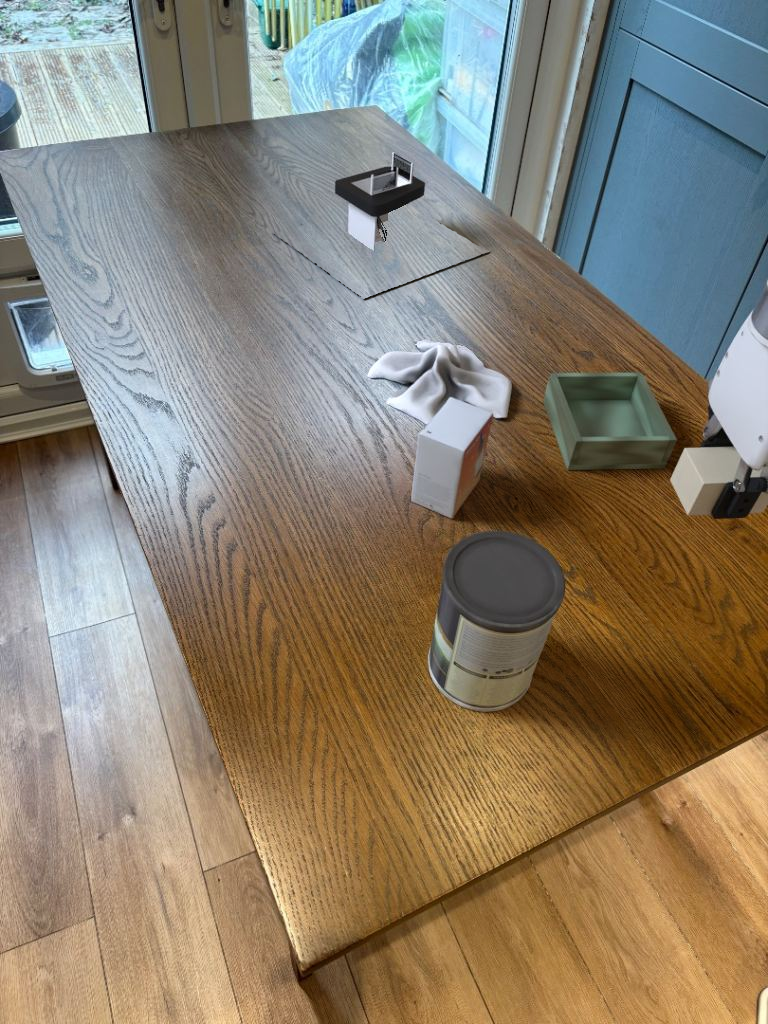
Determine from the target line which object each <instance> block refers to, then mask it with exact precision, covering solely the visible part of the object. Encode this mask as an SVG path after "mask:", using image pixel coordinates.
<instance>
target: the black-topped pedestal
mask: <svg viewBox="0 0 768 1024" xmlns="http://www.w3.org/2000/svg"><path fill="white" fill-rule="evenodd" d="M414 166H415V164H414V163H413V162H410V161H409V160H407V159H405V158H404V157H401V156H399V155H398V154H396V153H395V151H392V156H391V166H383V167H379V168H375V169H372V170H368V171H364V172H360V173H357V174H353V175H349V176H346V177H343V178H339V179H336V180H334V193H335V195H337V197H340V198H341V199H343V200H345V201H346V202H347V203H348V209H347V210H348V233H349V234H350V235H352V236H353V237H354V238H355V239H357V240H358V241H360V242H361V243H363V244H364V245H365V246H367V247H368V248H370V249H372V250H373V251H375V242H379V241H382V242H385V241H386V237H385V233H386V236H387V232H386V231H387V230H385V233H384V230H383V227H382V225H383V222H385V221H388V213H389V212H391V211H393V210H396V209H398V208H400V207H402V206H404V205H406V204H410V203H412V202H414V201H416V200H418V199H420V198H423V197H424V195H425V190H426V189H425V188H426V182H425V181H423V180H422V179H419V178H418V177H416V176H415V175H414ZM381 223H382V225H381ZM383 226H384V225H383ZM384 228H385V227H384ZM379 229H381V230H382V232H383V234H384V238H385V241H384V239H383V237H381V235H380V232H379ZM385 229H386V228H385Z"/></svg>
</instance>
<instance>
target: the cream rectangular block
mask: <svg viewBox="0 0 768 1024" xmlns="http://www.w3.org/2000/svg"><path fill="white" fill-rule="evenodd" d="M740 459H741V456H740V455H739V453H738V452H737V450H736V448H735V447H704V448H700V447H684V448H683V451H682V453H681V455H680V457H679V458H678V461H677V463H676V466H675V468H674V470H673V472H672V475H671V477H670V479H669V481H670V483H671V486H672V487H673V489H674V492H675V494H676V495H677V497H678V499H679V501H680V503H681V505H682V507H683V509H684V512H685V514H686V515H687V516H689V517H690V516H712V515H711V511H712V510H713V508H714V506H715V504H716V502H717V500H718V498H719V497H720V495H721V493H722V491H723V489H724V487H725V485H726V483H728V482H733V481H734V478H735V475H736V472H737V469H738V466H739V463H740ZM762 469H763V467H762V468H761V469H760V470H759V471H756V470H754V469H753V470H752V473H751V476H750V477H760V475H761V472H762ZM767 506H768V494H766V493H764V492H762V493H761V494H760V496H759V498H758V499H757V501H756V503H755V504H754V506H753V508H752V510H751V511H750V513H749V514H763V513H764V511H766V508H767Z"/></svg>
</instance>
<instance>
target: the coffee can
mask: <svg viewBox="0 0 768 1024" xmlns="http://www.w3.org/2000/svg"><path fill="white" fill-rule="evenodd" d="M441 576H442V580H441V585H440V590H439V591H440V592H439V596H438V597H439V598H438V603H437V610H436V614H435V620H434V626H433V632H432V637H431V643H430V647H429V650H428V653H427V667H428V671H429V674H430V678H431V679H432V682H433V683H434V685H435V686H436V688H437V689H438V690H439V692H440V693H441V694H442V695H443V696H444V697H445V698H446V699H448V701H451V702H452V703H454V704H456V705H457V706H460V707H462V708H465V709H467V710H471V711H475V712H482V713H487V712H497V711H501V710H505V709H507V708H509V707H511V706H513V705H515V704H516V703H517V702H519V701H520V700H521V699H522V698H523V697H524V696H525V694H526V693H527V692H528V690H529V688H530V686H531V683H532V680H533V679H532V678H533V675H534V673H535V669H536V667H537V664H538V661H539V659H540V656H541V653H542V652H543V649H544V646H545V645H546V644H545V643H546V641H547V638H548V635H549V633H550V630H551V628H552V625H553V622H554V619H555V618H556V614H557V612H558V611H559V609H560V607H561V605H562V603H563V601H564V599H565V596H566V578H565V574H564V572H563V569H562V567H561V565H560V563H559V561H558V560H557V559H556V558H555V556H554V555H553V554H552V553H551V552H550V551H549V550H548V548H546V547H544V546H543V545H541V544H540V543H539V542H537V541H536V540H535V539H532V538H530V537H528V536H526V535H524V534H520V533H517V532H512V531H507V530H483V531H479V532H474V533H471V534H470V535H469V534H468V535H467V536H464V538H462V539H460V540H459V541H457V542H456V543H455V544H454V545H453V546H452V547H451V548H450V550H449V551H448V553H447V554H446V556H445V558H444V563H443V565H442V575H441Z"/></svg>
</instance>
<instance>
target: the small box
mask: <svg viewBox="0 0 768 1024" xmlns="http://www.w3.org/2000/svg"><path fill="white" fill-rule="evenodd" d="M493 418H494V417H493V413H491V412H488V411H486V410H483V409H481V408H478V407H476V406H473V405H470V404H468V403H465V402H463V401H460V400H457V399H455V398H452V397H450V398H449V399H448V400H447V402H446V403H445V404H444V405H443V407H442V408H441V409H440V410H439V411H438V413H437V414H436V415H435V416H434V417H433V419H432V420H431V421H430V422H429V423H428V424H427V425H426V424H425V426H424V428H422V429H421V430H420V432H418V435H417V443H416V453H415V460H414V469H413V477H412V487H411V497H410V501H411V502H412V503H414V504H417V505H418V506H421V507H423V508H425V509H428V510H430V511H433V512H435V513H437V514H439V515H442V516H444V517H446V518H449V519H454V518H455V516H456V515H457V513H458V511H459V510H460V508H461V507H462V505H463V504H464V503H465V501H466V500H467V498H468V497H469V496H470V494H471V493H472V492H473V490H474V489H475V487H476V486H477V484H479V482H480V479H481V474H482V469H483V466H484V460H485V456H486V451H487V446H488V442H489V437H490V432H491V428H492V427H491V426H492V422H493Z"/></svg>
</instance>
